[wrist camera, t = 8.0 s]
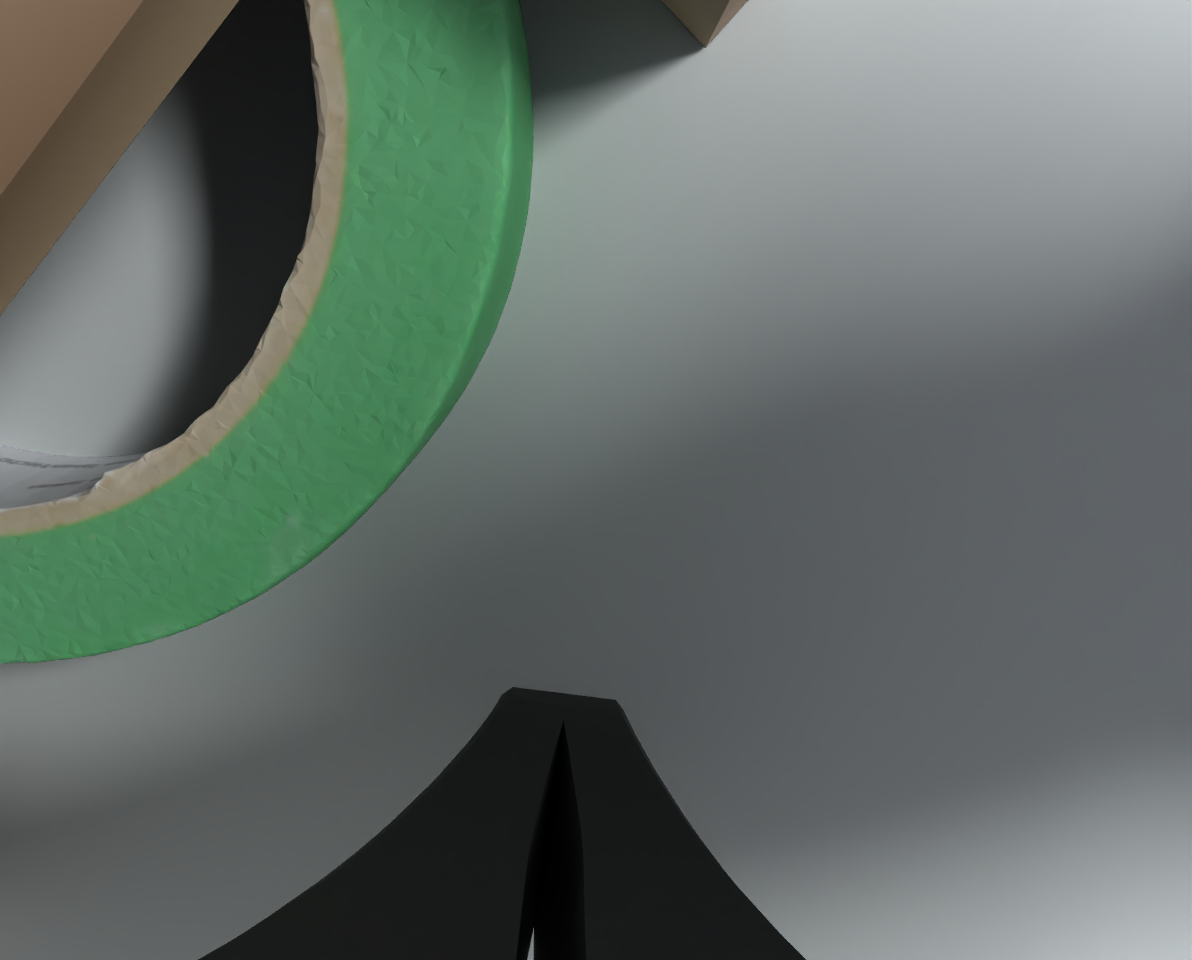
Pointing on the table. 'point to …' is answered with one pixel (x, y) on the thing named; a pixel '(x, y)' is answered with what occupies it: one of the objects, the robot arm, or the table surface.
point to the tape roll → (305, 347)
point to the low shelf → (112, 100)
